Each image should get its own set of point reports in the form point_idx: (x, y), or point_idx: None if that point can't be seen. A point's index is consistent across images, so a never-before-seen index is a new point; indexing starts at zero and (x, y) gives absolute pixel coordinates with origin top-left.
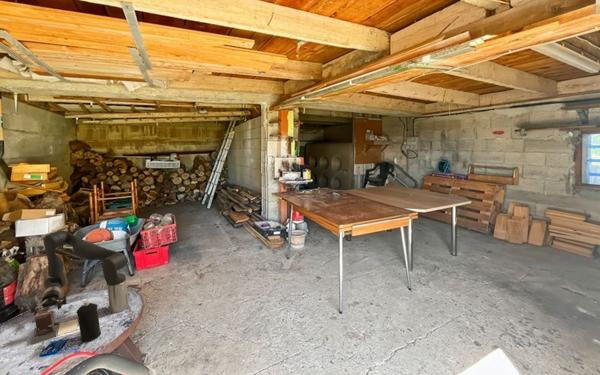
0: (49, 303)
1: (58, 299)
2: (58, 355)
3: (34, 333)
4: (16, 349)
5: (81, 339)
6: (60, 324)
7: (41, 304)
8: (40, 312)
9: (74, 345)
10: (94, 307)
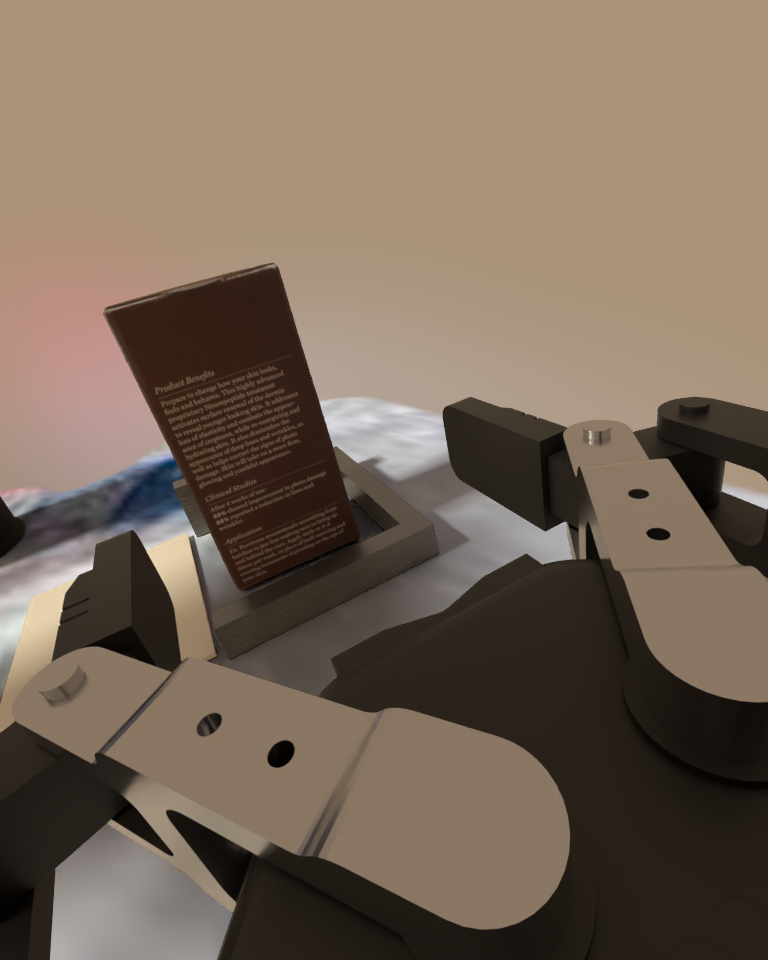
0: (441, 630)
1: (101, 748)
2: (147, 459)
3: (377, 488)
4: (416, 439)
5: (16, 520)
6: (200, 643)
7: (581, 470)
8: (228, 273)
9: (68, 502)
10: None
